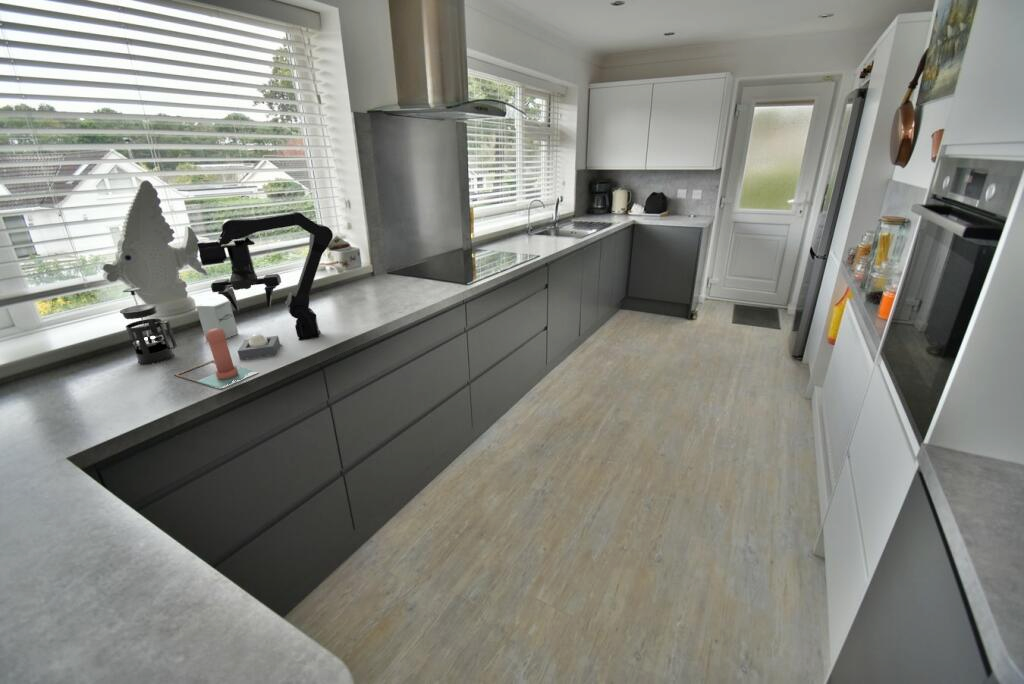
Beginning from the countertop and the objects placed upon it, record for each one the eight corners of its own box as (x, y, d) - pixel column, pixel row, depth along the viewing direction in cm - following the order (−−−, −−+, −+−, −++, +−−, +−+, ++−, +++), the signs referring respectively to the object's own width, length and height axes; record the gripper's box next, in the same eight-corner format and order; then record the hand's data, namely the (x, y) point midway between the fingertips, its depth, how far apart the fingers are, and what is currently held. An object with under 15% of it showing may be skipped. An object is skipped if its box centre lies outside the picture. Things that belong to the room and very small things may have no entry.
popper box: (280, 343, 153) (277, 335, 152) (275, 354, 144) (272, 346, 143) (247, 348, 151) (244, 339, 150) (240, 359, 142) (237, 351, 141)
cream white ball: (270, 344, 150) (266, 330, 148) (267, 350, 145) (263, 335, 144) (252, 346, 149) (248, 332, 147) (249, 352, 144) (245, 338, 142)
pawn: (237, 370, 133) (223, 324, 128) (239, 376, 129) (225, 329, 124) (216, 375, 130) (201, 328, 125) (218, 382, 126) (203, 333, 121)
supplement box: (223, 341, 158) (213, 306, 153) (205, 340, 159) (194, 305, 155) (239, 333, 165) (230, 299, 160) (222, 332, 166) (212, 299, 161)
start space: (213, 360, 142) (213, 360, 142) (235, 366, 137) (235, 365, 137) (174, 375, 133) (174, 374, 133) (197, 382, 128) (196, 381, 128)
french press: (129, 366, 140) (101, 294, 132) (144, 355, 149) (118, 286, 140) (173, 361, 143) (148, 290, 134) (184, 350, 151) (162, 282, 143)
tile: (234, 367, 137) (234, 365, 137) (258, 373, 132) (257, 371, 132) (197, 382, 128) (196, 380, 128) (220, 389, 123) (220, 388, 123)
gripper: (198, 269, 132) (214, 320, 137) (269, 262, 137) (281, 312, 142) (210, 261, 142) (224, 309, 147) (275, 256, 146) (286, 302, 152)
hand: (253, 308), depth 147 cm, fingers open, 9 cm apart
